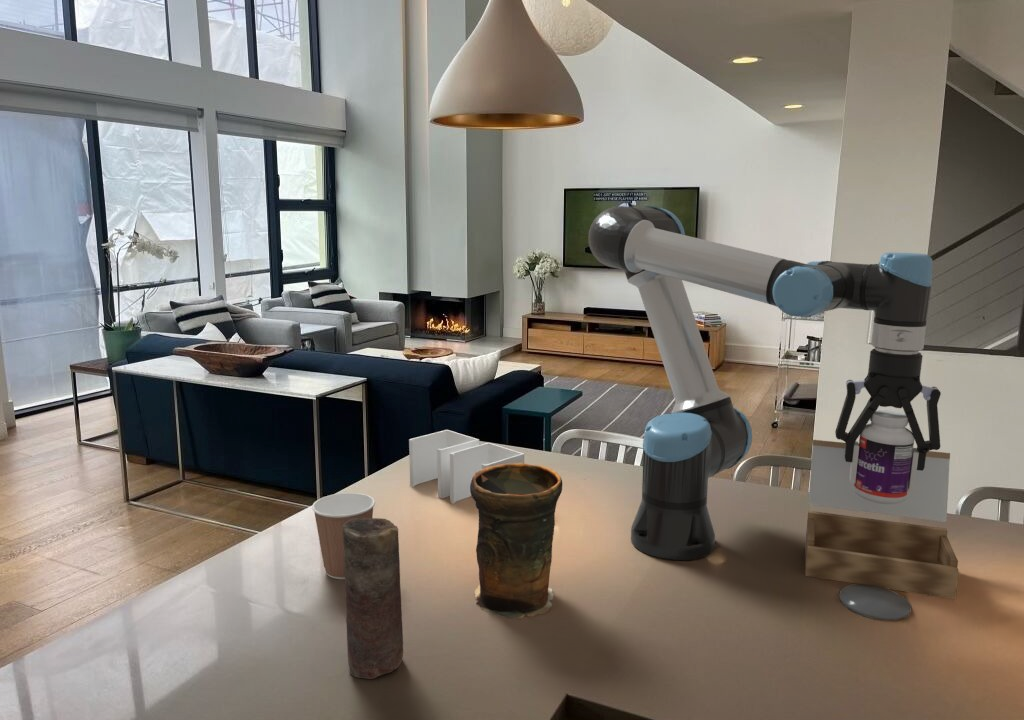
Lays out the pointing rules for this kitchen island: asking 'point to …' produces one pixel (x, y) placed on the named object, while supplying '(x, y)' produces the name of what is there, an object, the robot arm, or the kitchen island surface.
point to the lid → (838, 492)
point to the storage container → (454, 461)
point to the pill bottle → (884, 458)
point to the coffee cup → (338, 526)
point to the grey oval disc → (875, 602)
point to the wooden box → (881, 554)
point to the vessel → (515, 537)
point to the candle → (372, 596)
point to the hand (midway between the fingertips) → (881, 484)
